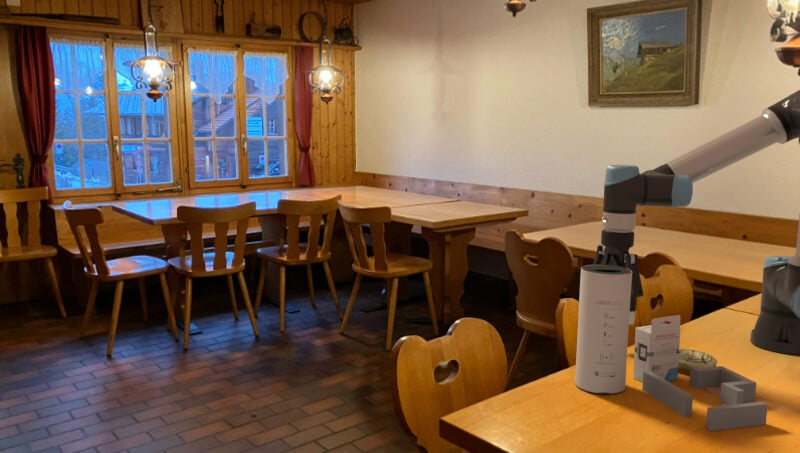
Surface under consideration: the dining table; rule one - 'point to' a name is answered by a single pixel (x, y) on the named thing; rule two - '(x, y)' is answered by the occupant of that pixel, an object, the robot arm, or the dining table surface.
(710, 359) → the decorated donut
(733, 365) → the dining table surface
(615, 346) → the speaker
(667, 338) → the ink box
